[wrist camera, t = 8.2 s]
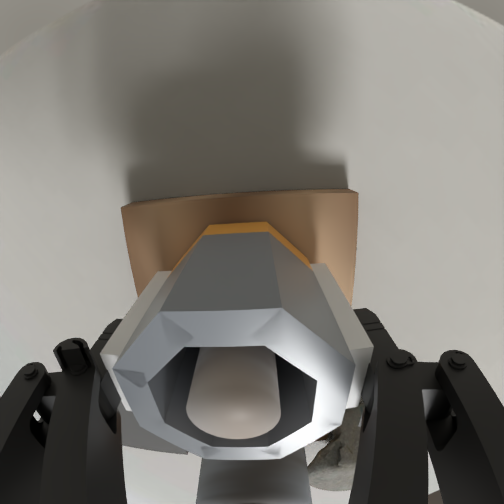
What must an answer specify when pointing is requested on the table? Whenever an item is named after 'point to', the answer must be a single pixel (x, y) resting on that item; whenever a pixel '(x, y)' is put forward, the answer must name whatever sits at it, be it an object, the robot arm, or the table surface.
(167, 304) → the sleeve
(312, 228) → the pin board
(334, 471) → the stone
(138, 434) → the pad
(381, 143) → the table surface
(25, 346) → the table surface
